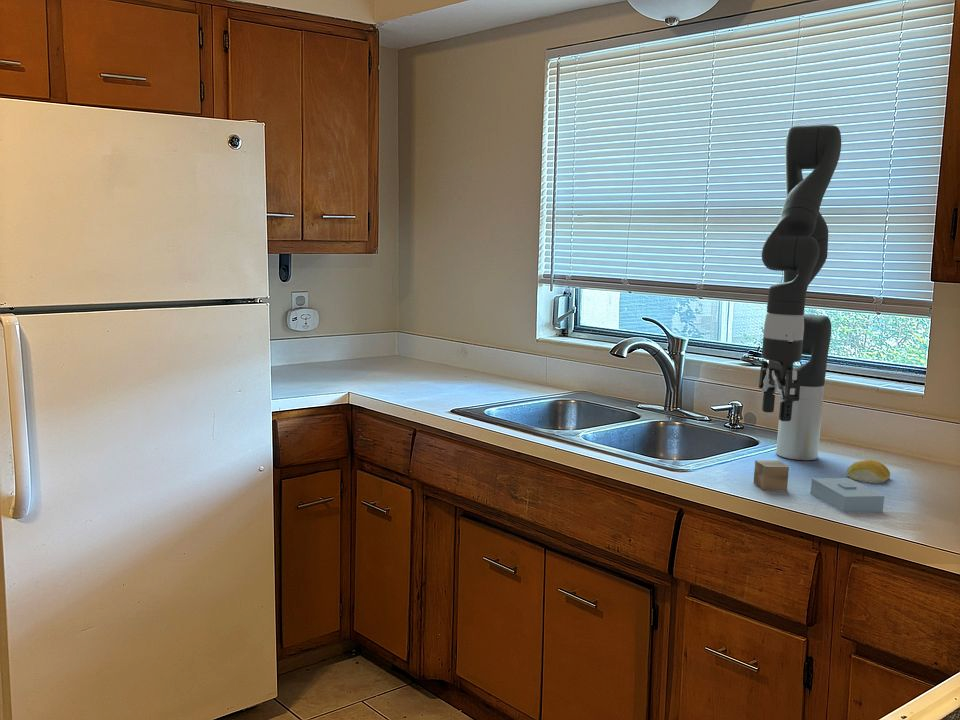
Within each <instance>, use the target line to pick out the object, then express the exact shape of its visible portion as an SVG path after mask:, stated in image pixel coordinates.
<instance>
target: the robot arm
mask: <svg viewBox="0 0 960 720" xmlns="http://www.w3.org/2000/svg"><path fill="white" fill-rule="evenodd" d="M784 145H785V146H784V152H785V153H784V162H785V163H784V166H785V169H784V170H785V194H786V196H785V200H784V203H783V206H782V210H781V214H780V217H779V221H778V222H777V224H776V225H775V227H774V228H773V229H772V231H771V232H770V234H769V235H768V236H767V238H766V240H764V241H765V242H764V244H763V246H762V249H761V259H762V262H763V265H764V266H765V267H766V268H767V269H769V270H771V271H775V272H777V271H778V272H779V271H780V272H781V271H782V272H783V282H778V283H777V282H776V283H774V284H772V285H770V287H769V289H768V293H767V294H768V296H767V303H766V304H767V305H766V306H767V307H766V316H765V320H764V325H763V336H762V337H763V338H762V349H761V357H762V359H764V360H761V364H760V373H759V381H758V389H759V390H761V393H762V394H763V395H762V405H761V406H762V407H761V408H762V409H761V411H762V412H764V413H773V412H774V410H775V401H776V400H775V399H776V392H777V393H778V394H779V398H780V399H779V400H780V402H779V414H778V425H777V437H776V438H777V439H776V449H775V453H776V455H777V456H779V457H782V458H786V459H790V460H798V461H812V460H813V461H814V460H817V459H818V456H819V449H820V448H819V447H820V446H819V445H820V437H821V428H822V427H821V426H822V425H821V424H822V416H823V406H824V394H825V393H824V392H825V382H826V375H827V374H826V372H827V365H828V356H829V350H830V349H829V348H830V343H831V337H832V322H831V319H830V318H829V316H826V315H821V314H810V313H805V305H806V297H807V291H808V287H809V285H810V284H811V282H812V281H813V280H814V279H815V278H816V277H817V275H818V274H819V272H820V271H821V270H822V268H823V267H824V265H825V264H826V261H827V259H828V253H829V252H828V250H829V227H828V224H827V222H826V220H825V217H823V215H822V214H821V212H820V207H821V204H822V202H823V198H824V196H825V193H826V191H827V189H828V186H829V185H830V183H831V180H832V178H833V175H834V173H835V171H836V168H837V165H838V163H839V160H840V155H841V151H842V135H841V131H840V128H839V126H837V125H833V124H814V125H813V124H812V125H793V126H791V127H790V128H789V129H788V131H787V133H786V137H785V143H784ZM803 170H812V171H811V172H810V173H809V174H808V175H807V176H806V177H805V178H804V176H803ZM802 355H810V356H811V357H810V359H809V361H808V362H806V363H804V364H802V365H799V366H795V367H794V363H799V362H801V360H802Z"/></svg>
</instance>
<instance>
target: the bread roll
mask: <svg viewBox="0 0 960 720" xmlns="http://www.w3.org/2000/svg"><path fill="white" fill-rule="evenodd" d="M846 475H847V478H849V477H850V479H852V480H854V481H857V480H858V481H857V482H861V481H862V482H861V483H867V482H869V484H883V483H885V482H886V481H888V480H889V479H890V478H891V472H890V470H889V468H887V466H886V465H884V463H882V462H880V461H876V460H874V459H873V460H872V459H867V460H860V461H857V462H854V463H852V464H851V465H849V467H848V468H847V469H846Z"/></svg>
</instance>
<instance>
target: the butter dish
mask: <svg viewBox="0 0 960 720" xmlns="http://www.w3.org/2000/svg"><path fill="white" fill-rule="evenodd" d="M810 486H811V487H810V494H811V495H812V496H814V497H815V496H816V498H817V497H818V498H817V499H819V500H821V501H822V500H823V502H824V501H825V502H824V503H826V502H827V503H828V505H829V504H830V505H829V506H831V505H832V506H831V507H833V508H834V507H835V508H834V509H836V508H837V509H836V510H838V509H839V510H838V511H840V512H841V511H842V513H843V512H845V513H846V512H858V513H883V512H884V503H885V495H883V494H881V493H879V492H877V491H875V490H873V489H871V488H869V487H867V486H865V485H863V484H862V483H860V482H859V481H857V480H854V479H851V478H849V477H846V478H845V477H844V478H843V477H842V478H841V477H838V478H836V477H835V478H832V477H831V478H828V477H827V478H811V485H810ZM827 503H826V504H827ZM846 514H847V513H846Z"/></svg>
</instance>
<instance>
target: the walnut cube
mask: <svg viewBox="0 0 960 720" xmlns="http://www.w3.org/2000/svg"><path fill="white" fill-rule="evenodd" d="M789 471H790V466H788V464H785V463H784V462H782V461H780V460H765V459H764V460H762V459H755V460H754V473H753V485H755V484H756V485H757V486H756V485H755V486H756V487H758V488H759V489H760V488H761V489H760V490H761V491H770V490H784V491H785V490H787V491H788V481H789ZM784 491H783V492H784Z"/></svg>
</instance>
